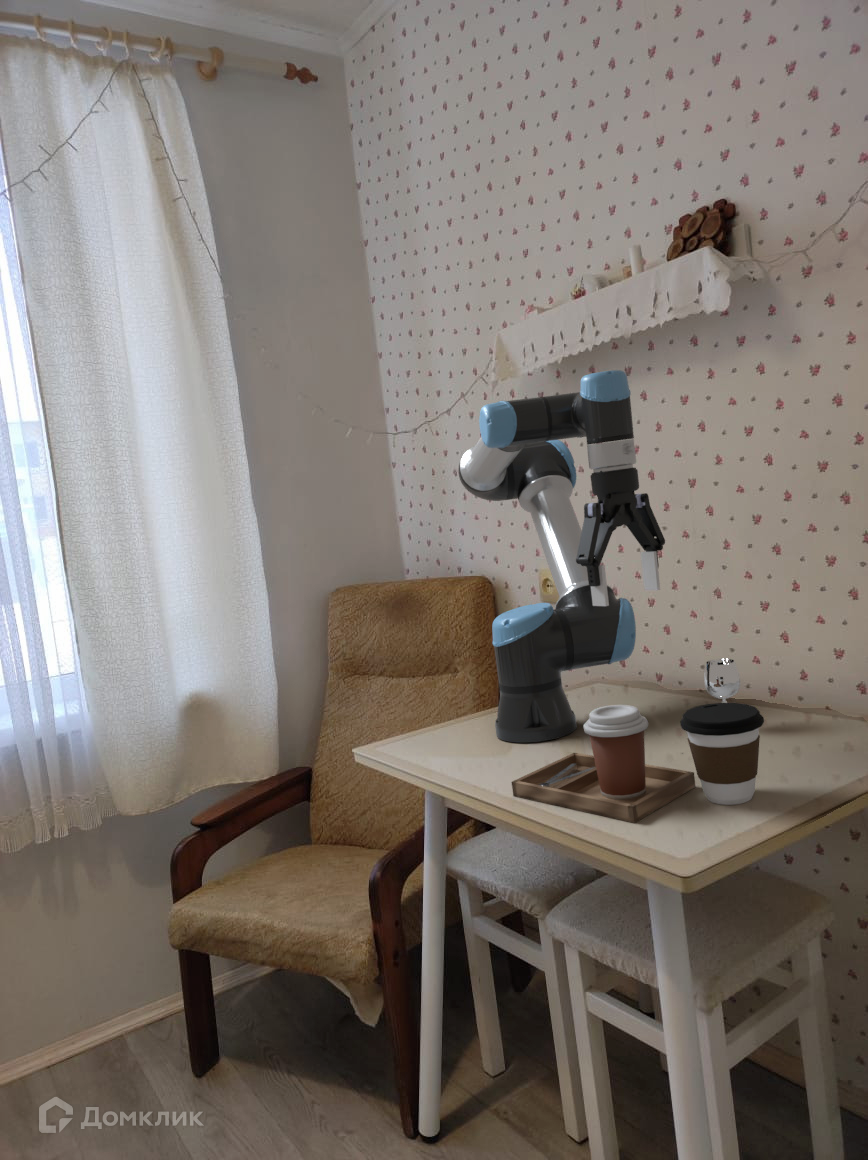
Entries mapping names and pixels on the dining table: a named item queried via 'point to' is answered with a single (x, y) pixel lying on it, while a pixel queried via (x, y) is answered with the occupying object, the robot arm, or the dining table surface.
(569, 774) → the steel tongs
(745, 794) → the coffee cup
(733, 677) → the wineglass
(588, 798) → the walnut caddy
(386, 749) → the dining table surface
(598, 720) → the coffee cup
